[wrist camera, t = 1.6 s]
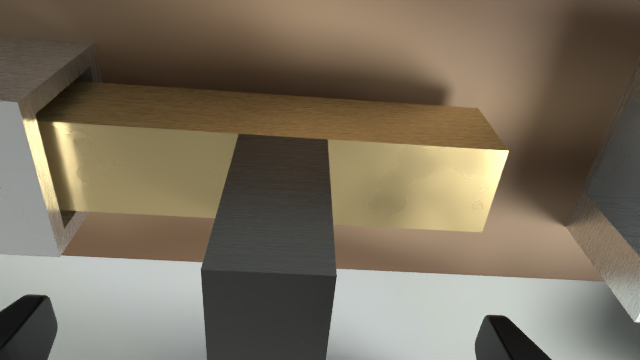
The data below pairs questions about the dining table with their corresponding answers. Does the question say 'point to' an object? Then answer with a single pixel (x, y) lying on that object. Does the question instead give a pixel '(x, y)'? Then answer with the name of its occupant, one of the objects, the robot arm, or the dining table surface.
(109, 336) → the dining table surface
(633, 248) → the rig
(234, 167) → the brass t-shaped handle
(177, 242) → the board
